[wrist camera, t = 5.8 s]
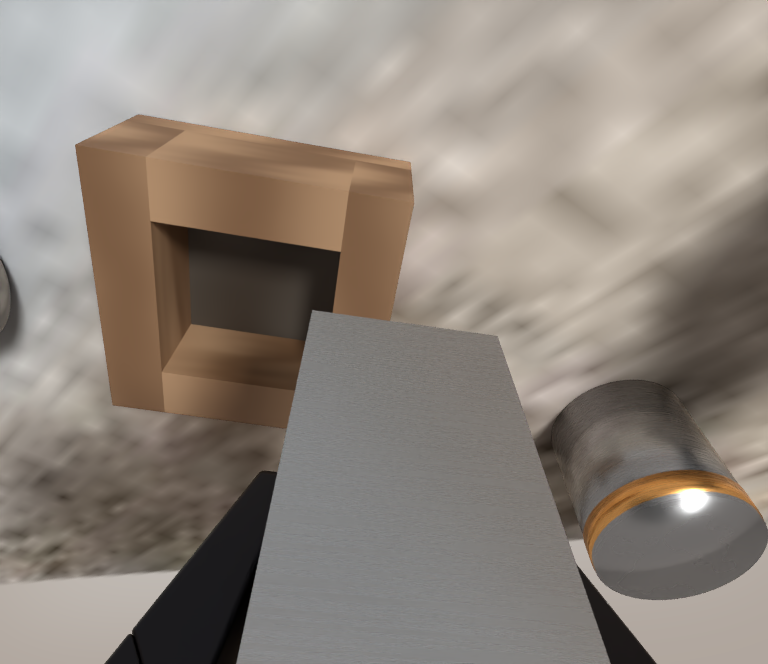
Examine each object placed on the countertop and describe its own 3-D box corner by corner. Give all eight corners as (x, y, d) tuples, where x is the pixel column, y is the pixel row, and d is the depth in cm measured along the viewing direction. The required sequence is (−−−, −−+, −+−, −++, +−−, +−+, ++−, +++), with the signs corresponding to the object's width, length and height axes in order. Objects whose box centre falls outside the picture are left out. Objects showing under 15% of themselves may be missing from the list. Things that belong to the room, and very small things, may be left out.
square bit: (500, 334, 11) (741, 1010, 4) (455, 467, 14) (550, 1067, 6) (309, 307, 11) (155, 997, 3) (294, 448, 13) (180, 1064, 6)
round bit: (711, 389, 26) (806, 509, 20) (650, 483, 29) (715, 608, 23) (577, 369, 25) (634, 486, 19) (533, 467, 29) (568, 591, 23)
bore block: (410, 162, 20) (414, 202, 16) (370, 372, 25) (365, 439, 21) (138, 114, 19) (75, 144, 15) (156, 341, 24) (112, 405, 21)
